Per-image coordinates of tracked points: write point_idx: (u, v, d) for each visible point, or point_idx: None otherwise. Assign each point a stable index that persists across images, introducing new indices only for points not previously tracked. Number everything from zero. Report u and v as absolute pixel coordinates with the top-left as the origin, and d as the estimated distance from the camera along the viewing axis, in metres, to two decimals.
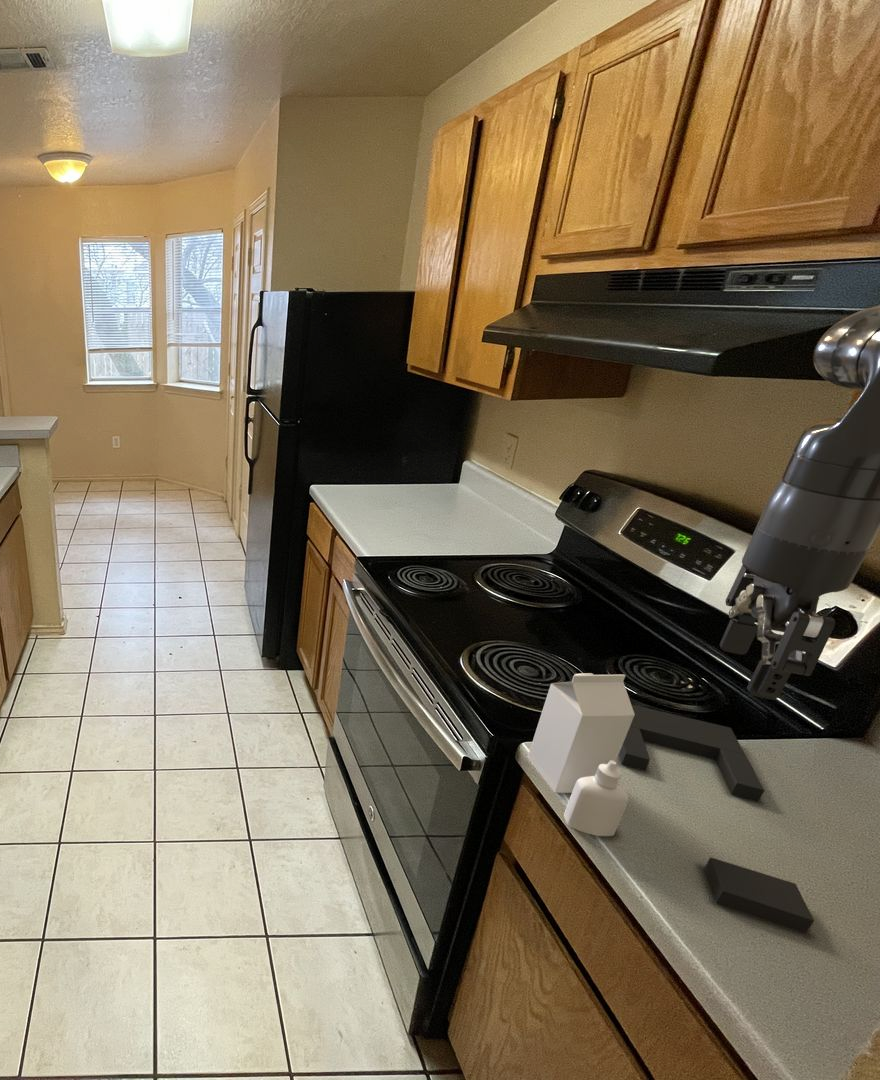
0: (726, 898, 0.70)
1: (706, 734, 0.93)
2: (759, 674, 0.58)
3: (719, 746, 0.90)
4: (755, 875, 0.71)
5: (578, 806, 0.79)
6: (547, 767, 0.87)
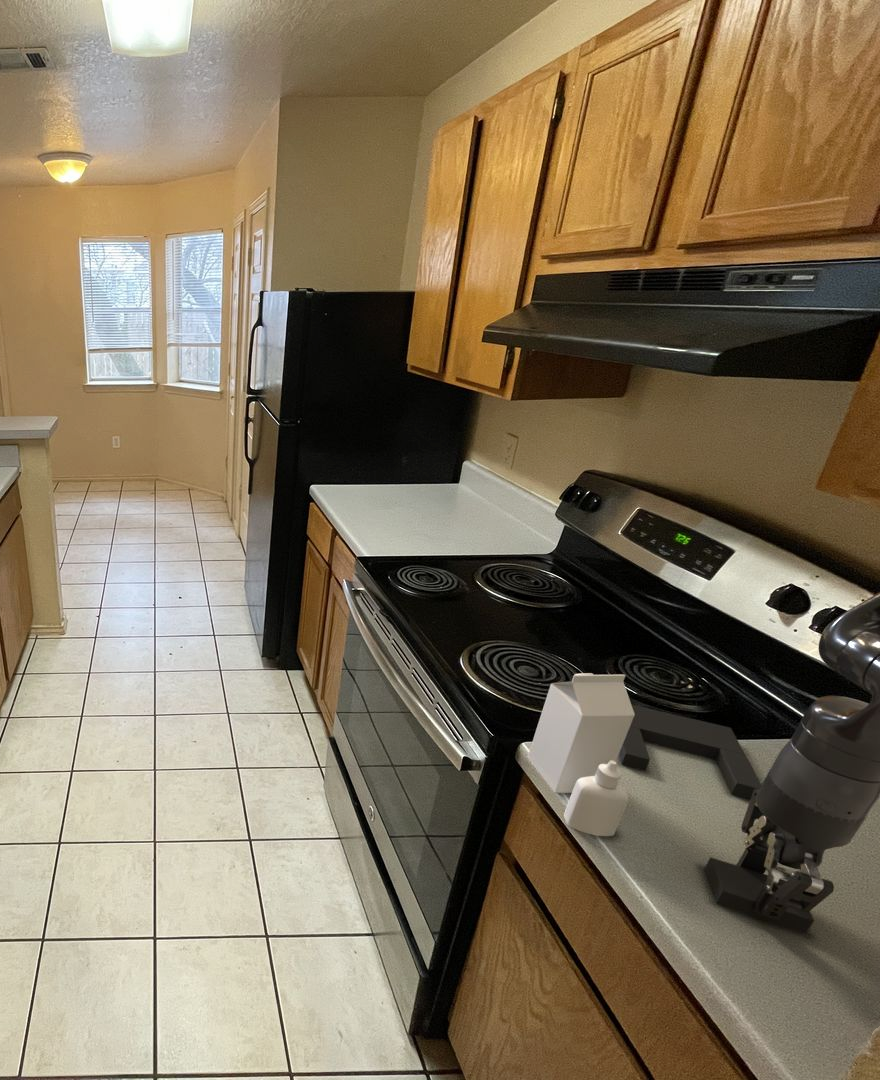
0: (726, 899, 0.70)
1: (706, 734, 0.93)
2: (763, 898, 0.67)
3: (719, 746, 0.90)
4: (755, 875, 0.71)
5: (578, 806, 0.79)
6: (547, 767, 0.87)
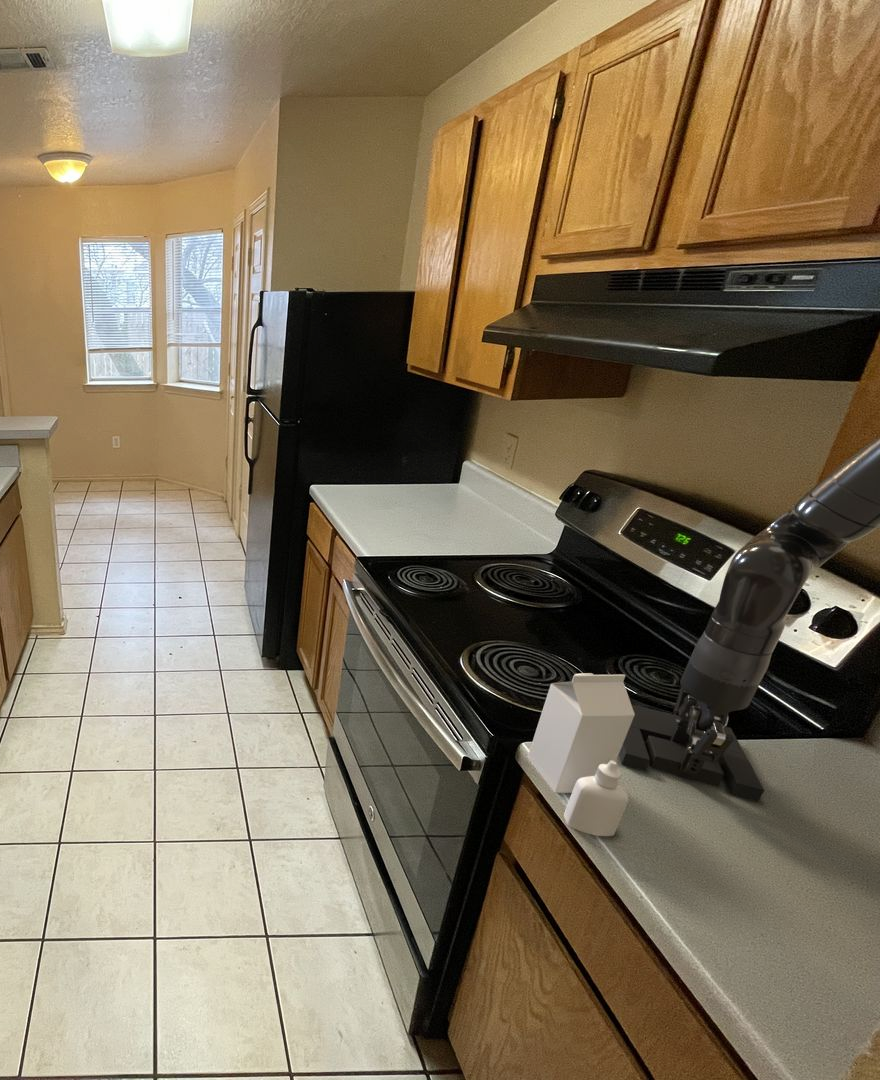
0: (658, 762, 0.89)
1: None
2: (686, 758, 0.86)
3: None
4: (682, 746, 0.90)
5: (578, 806, 0.79)
6: (547, 767, 0.87)
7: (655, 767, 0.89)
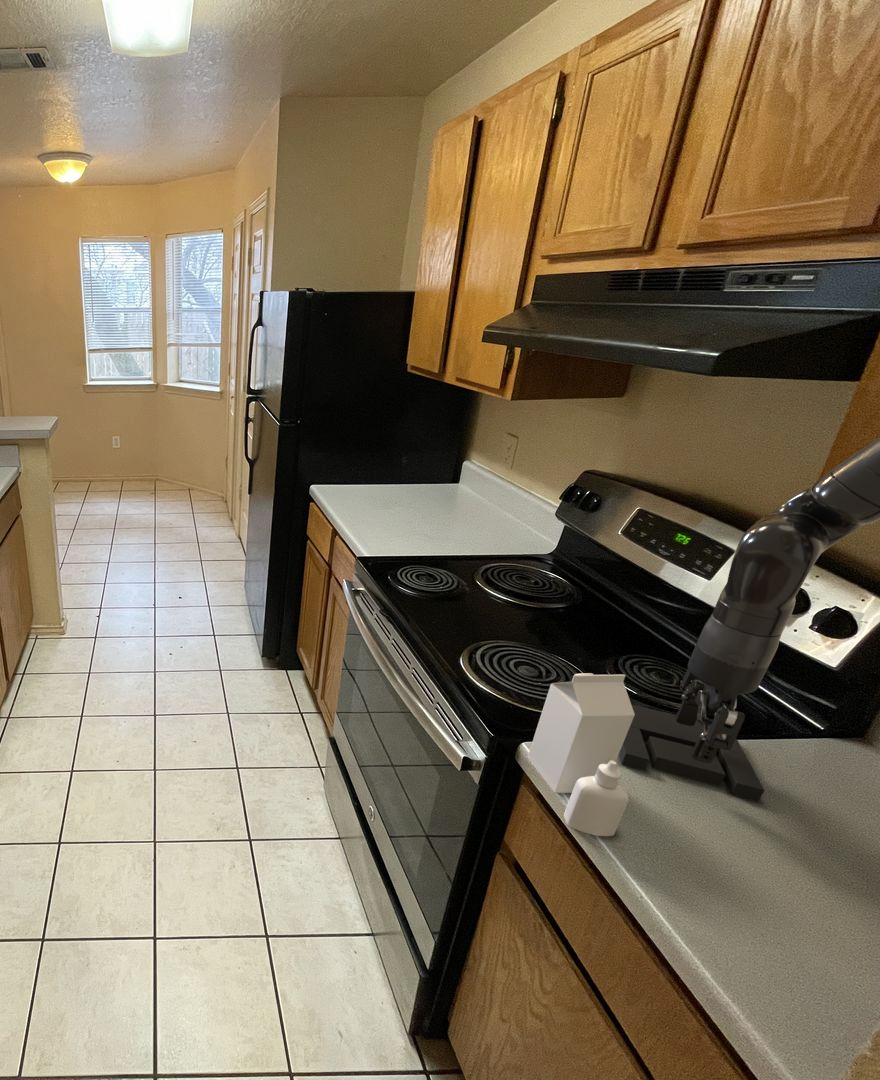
0: (659, 763, 0.89)
1: None
2: (698, 746, 0.84)
3: None
4: (683, 747, 0.90)
5: (578, 806, 0.79)
6: (547, 767, 0.87)
7: (656, 768, 0.89)
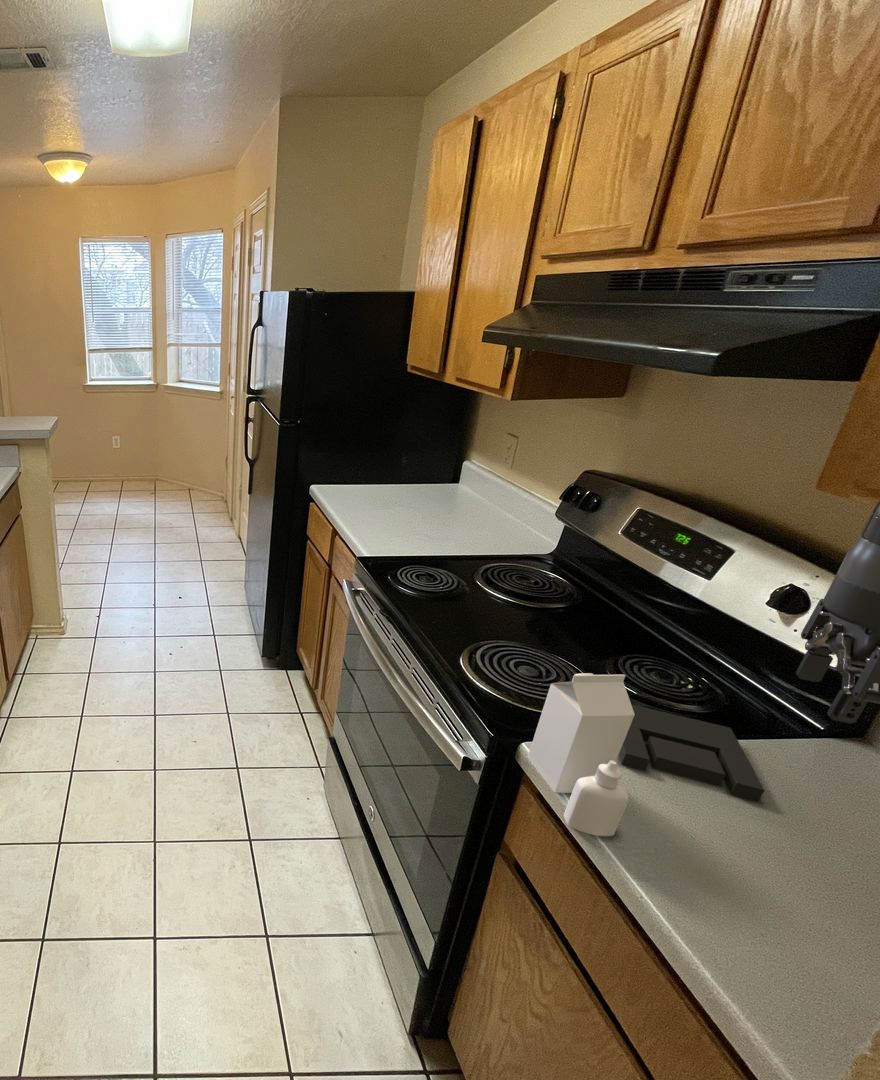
0: (659, 763, 0.89)
1: (706, 734, 0.93)
2: (839, 702, 0.67)
3: (719, 746, 0.90)
4: (683, 747, 0.90)
5: (578, 806, 0.79)
6: (547, 767, 0.87)
7: (656, 768, 0.89)
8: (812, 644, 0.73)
